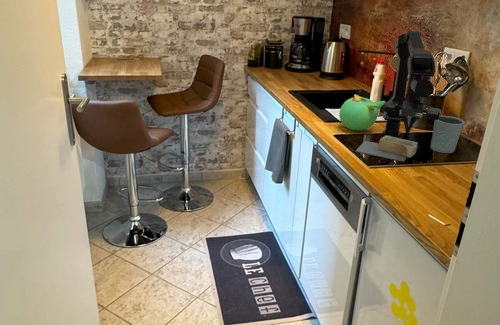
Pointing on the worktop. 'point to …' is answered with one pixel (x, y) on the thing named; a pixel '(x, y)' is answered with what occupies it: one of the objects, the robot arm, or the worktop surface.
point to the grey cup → (446, 134)
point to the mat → (378, 151)
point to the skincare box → (398, 146)
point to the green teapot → (359, 113)
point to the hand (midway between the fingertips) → (407, 133)
